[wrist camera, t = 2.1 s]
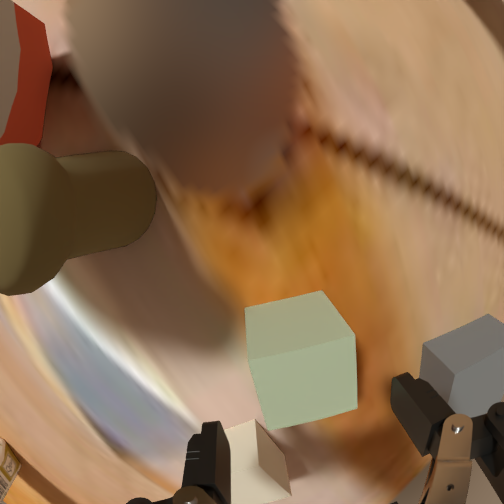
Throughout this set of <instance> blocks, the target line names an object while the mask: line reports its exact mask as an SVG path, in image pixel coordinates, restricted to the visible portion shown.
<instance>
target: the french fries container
mask: <svg viewBox="0 0 504 504" xmlns="http://www.w3.org/2000/svg"><path fill="white" fill-rule="evenodd" d="M52 69H53V64H52V60H51V55H50V51H49V46H48V41H47V35H46V30H45V24H44V23H43V22H41V21H40V20H38V19H37V18H36V17H34V16H33V15H31V14H30V13H28V12H27V11H26V10H24V9H23V8H21V7H20V6H18V5H17V4H15V3H14V2H13V1H11V0H0V145H4V144H7V143H25V144H32V145H34V146H36V147H37V145H38V144H39V142H40V140H41V139H42V134H43V124H44V116H45V108H46V102H47V95H48V90H49V84H50V79H51V74H52Z"/></svg>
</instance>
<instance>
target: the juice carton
mask: <svg viewBox="0 0 504 504" xmlns="http://www.w3.org/2000/svg"><path fill="white" fill-rule="evenodd" d="M20 467H21V464H20V463H19V461H18V460H17V458H16V457H15V455H14V454H13V452H12V451H11V449H10V448H9V446H8V445H7V443H6V442H5V440H4V439H2V438H0V504H1V503H2V501H3V499H4V498H5V496H6V494H7V492H8V490H9V488H10V487H11V485H12V483H13V481H14V480H15V478H16V476H17V474H18V472H19V470H20Z"/></svg>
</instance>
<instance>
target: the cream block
mask: <svg viewBox="0 0 504 504" xmlns="http://www.w3.org/2000/svg"><path fill="white" fill-rule="evenodd" d="M224 432H225V434H226V437H227V439H228V441H229V445H230V450H231V504H265V503H269V502H272V501H276V500H280V499H283V498H287V497H290V496H292V494H291V489H290V483H289V477H288V472H287V466H286V460H285V455H284V454H283V453H282V451H281V450H280V449H279V448H278V447H277V446H276V444H275V443H274V442H273V441H272V440H271V438H270V437H269V436H268V435H267V434H266V432H265V431H264V430H263V429H262V427H261V426H260V425H259V424H258V422H257V421H256V420H255V419H254V420H251V421H248V422H246V423H243V424H240V425H237V426H234V427H231V428H228V429H224Z"/></svg>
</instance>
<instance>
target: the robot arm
mask: <svg viewBox="0 0 504 504" xmlns="http://www.w3.org/2000/svg"><path fill="white" fill-rule="evenodd" d="M390 402H391V407H392V410H393V412H394V413H395V415H396V417H397V418H398V420H399V421H400V423H401V424H402V426H403V427H404V429H405V430H406V432H407V433H408V435H409V437H410V438H411V440H412V441H413V443H414V444H415V446H416V448H417V449H418V451H419V452H420V454H421V455H422V457H423V456H425V455H427V454H429V453H430V454H431V455H432V460H431V464H430V468H429V472H428V475H427V479H426V483H425V487H424V489H423V492H422V495H421V498H420V500H419V503H418V504H465V503H466V498H467V493H468V488H469V482H470V476H471V469H472V461H471V459H474V458H475V460H476V462H477V463H478V465H479V466H480V468H481V469H482V471H483V472H484V474H485V476H486V477H487V479H488V480H489V481H490V483H491V485H492V487H493V488H494V490H495V491H496V493H497V495H498V497H499V498H500V500H501V502H502V503H503V504H504V402H498V403H495V404H493V405H492V406H491V407H490V408H489V410H488V412H487V414H483V415H480V416H476V417H472V418H470V417H469V416H467V415H465V414H456V413H455V412H454V411H453V410H452V408H451V407H450V406H449V405H448V404H447V403H446V402H445V400H444V399H443V398H442V397H441V396H440V395H439V394H438V393H437V391H436V390H434V388H433V387H432V386H431V385H430V384H429V382H427V381H425V380H423V379H421V378H418V379H416V380H415V379H414V378H413V377H412V376H411V375H410V373H408V372H406V373H404V374H401V375H399V376H396V377H393V379H392V386H391V399H390ZM126 504H231V450H230V445H229V441H228V439H227V437H226V434H225V432H224V430H223V427H222V425H221V423H220V421H213V422H204V423H203V424H202V431H201V434H194V435H193V436H192V438H191V439H190V441H189V442H188V447H187V453H186V460H185V467H184V474H183V482H182V487H181V489H179V490H178V491H177V492H176V493H175V494H174V496H173V497H171V498H168V499H165V500H161V501H157V502H151V501H150V500H148V499H146V498H134V499H132V500H130V501H128V502H127V503H126ZM392 504H398V503H397V502H394V503H392Z"/></svg>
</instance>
